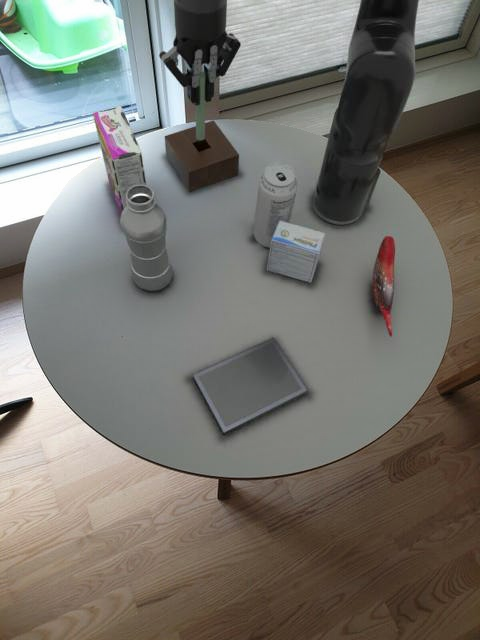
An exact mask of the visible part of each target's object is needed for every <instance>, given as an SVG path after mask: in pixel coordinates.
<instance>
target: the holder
mask: <svg viewBox="0 0 480 640" xmlns="http://www.w3.org/2000/svg"><path fill="white" fill-rule="evenodd" d="M164 145H165V146H164V147H165V158H167V160H168V162H169V163H170V165H171V166H172V168H173V170H174V171H175V172H176V174H177V175H178V177H179V179H180V180H181V181H182V183H183V185H184V186H185V187H186V189H187V191H188V192H189V193H191V192H193V191H196V190H199V189H202V188H205V187H208V186H210V185H213V184H216V183H219V182H222V181H225V180H227V179H230V178H233V177H236V176H239V164H240V163H239V161H240V153H238V151H237V149H236V148H235V147H234V146H233V144H232V142H230V140H229V139H228V138H227V136H226V135H225V134H224V132H223V130H221V128H220V127H219V126H218V124H217V123H216V121H215V120H211V121H208V122H205V139H204V140H203V143H202V144H199V143H198V140H197V139H196V125H195V126H192V127H189V128H185V129H182V130H178V131H175V132H173V133H170V134H166V135H164Z"/></svg>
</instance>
